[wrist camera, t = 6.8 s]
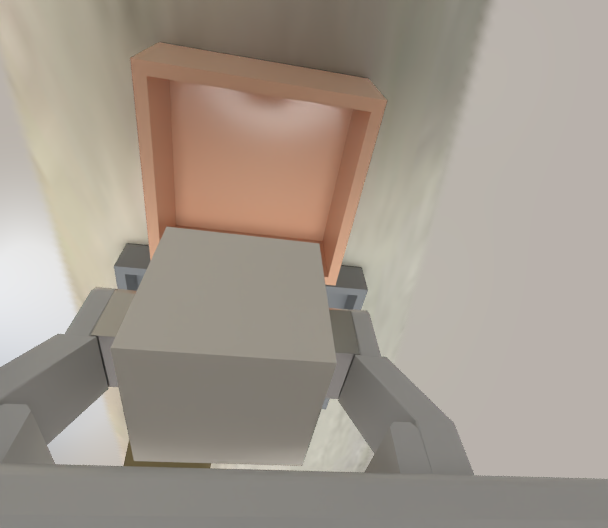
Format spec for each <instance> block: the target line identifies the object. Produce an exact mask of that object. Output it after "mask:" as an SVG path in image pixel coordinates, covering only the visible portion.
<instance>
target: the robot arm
mask: <svg viewBox="0 0 608 528" xmlns="http://www.w3.org/2000/svg"><path fill="white" fill-rule="evenodd" d="M136 292H137V291H133V290H124V289H111V288H102V287H96V288H94V289H93V290H91V292H90V293H89V295H88V297H87V298H86V300H85V302H84V303H83V305H82V307H81V308H80V310H79V311H78V313H77V315H76V316H75V318H74V320H73V321H72V323H71V325H70V326H69V328H68V329H67V331H66V333H65V334H57V335H55V336H53V337H52V338H50V339H48V340H47V341H45V342H43V343H41V344H40V345H38V346H36V347H34V348H33V349H31V350H29V351H27V352H26V353H24V354H22V355H21V356H19V357H17V358H15V359H14V360H12V361H11V362H9V363H7V364H5V365H3V366H2V367H0V528H608V479H587V478H552V477H551V478H550V477H515V476H514V477H513V476H511V477H510V476H477V475H474V473H473V470H472V468H471V465H470V463H469V460H468V458H467V455H466V452H465V450H464V447H463V445H462V442H461V440H460V437H459V435H458V432H457V429H456V427H455V425H454V423H453V422H452V421H451V420H450V419H449V418H448V417H447V416H446V415H445V414H444V413H443V412H442V411H441V410H440V409H439V408H438V407H437V406H436V405H435V404H434V403H433V402H432V401H431V400H430V399H429V398H428V397H427V396H426V395H425V394H424V393H423V392H422V391H421V390H419V388H418V387H416V386H415V385H414V384H413V383H412V382H411V381H410V380H409V379H408V378H407V377H406V376H405V375H404V374H403V373H402V372H401V371H400V370H399V369H398V368H397V367H396V366H395V365H394V364H393V363H392V362H391V361H390V360H389V359H388V358H387V357H381V354H380V351H379V347H378V343H377V340H376V336H375V332H374V329H373V325H372V321H371V318H370V314H369V312H368V311H366V310H352V309H349V310H348V309H337V308H329V313H330V320H331V327H332V333H333V340H334V347H335V354H336V361H337V364H336V367H335V370H334V373H333V376H332V379H331V382H330V385H329V388H328V391H327V394H326V397H325V398H331V399H339V400H338V401H339V403H340V404H341V406H342V407H343V408H344V410H345V411H346V413H347V414H348V416H349V417H350V419H351V420H352V422H353V423H354V425H355V426H356V427H357V429H358V430H359V432H360V433H361V435H362V436H363V438H364V439H365V441H366V442H367V443H368V445H369V446H370V448H371V449H372V451H373V452H374V456H373V458H372V460H371V462H370V463H369V465H368V467H367V469H366V471H365V472H326V471H289V470H251V469H212V468H173V467H133V466H95V465H94V466H93V465H58V464H55V462H54V460H53V458H52V456H51V454H50V451H49V449H48V447H47V444H49V443H50V442H51V441H52V440H53V439H54V438H55V437H56V436H57V435H58V434H59V433H61V432H62V431H63V430H64V429H65V428H66V427H67V426H68V425H69V424H70V423H71V422H73V421H74V420H75V419H76V418H77V417H78V416H79V415H80V414H81V413H82V412H83V411H85V410H86V409H87V408H88V407H89V406H90V405H91V404H92V403H93V402H94V401H96V400H97V399H98V398H99V397H100V396H101V395H102V394H103V393H104V392H105V391H106V390H108V387H119V386H118V382H117V377H116V372H115V367H114V362H113V357H112V353H111V346H112V343H113V341H114V339H115V337H116V335H117V333H118V330H119V328H120V326H121V324H122V322H123V320H124V317H125V315H126V313H127V311H128V309H129V307H130V304H131V302H132V300H133V298H134V296H135V294H136Z"/></svg>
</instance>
